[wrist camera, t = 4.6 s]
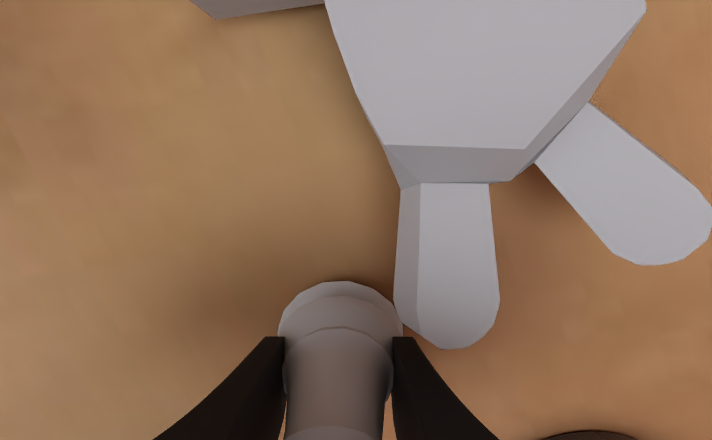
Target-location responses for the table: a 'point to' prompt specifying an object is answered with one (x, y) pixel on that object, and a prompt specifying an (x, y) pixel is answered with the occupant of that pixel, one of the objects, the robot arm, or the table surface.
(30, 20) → the table surface
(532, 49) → the bunny figurine
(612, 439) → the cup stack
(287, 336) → the rook chess piece
